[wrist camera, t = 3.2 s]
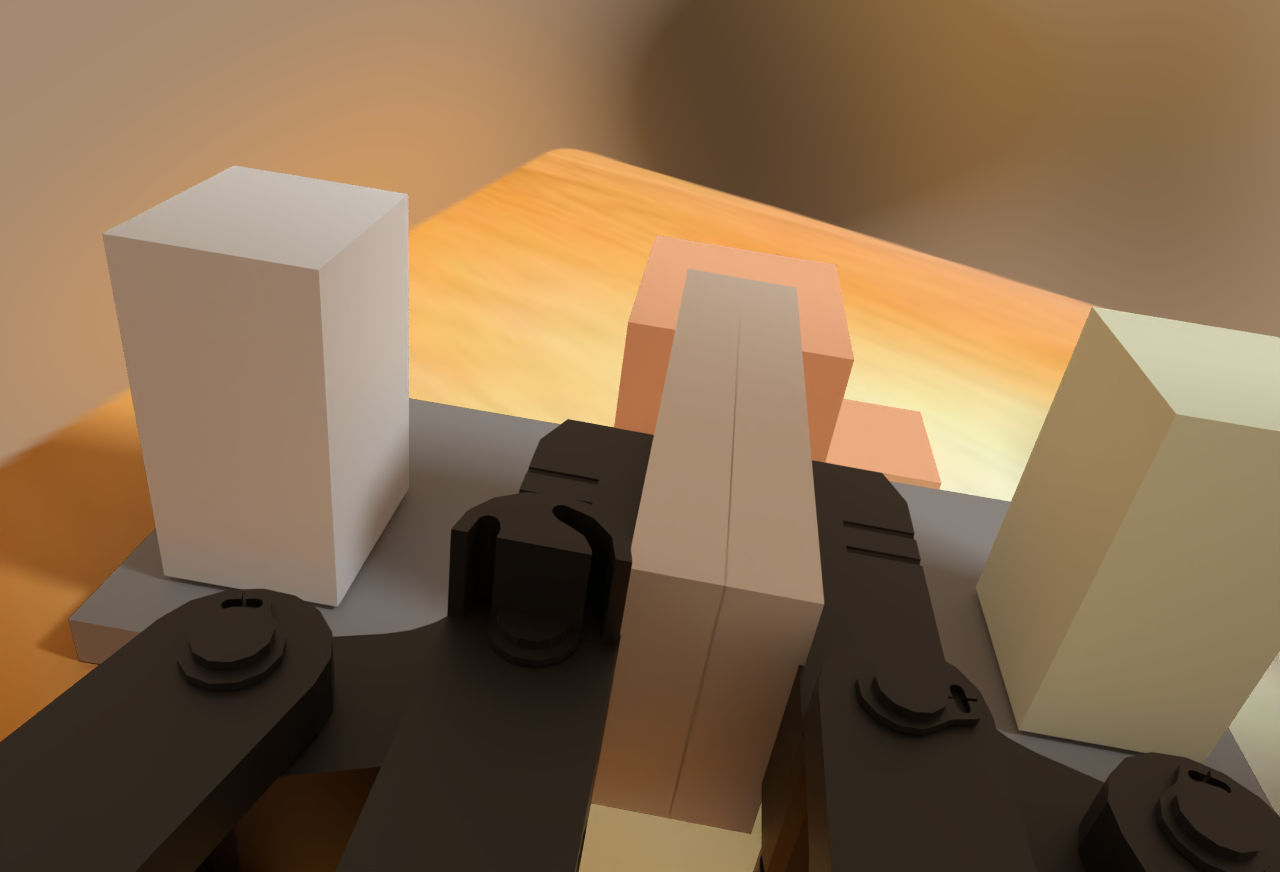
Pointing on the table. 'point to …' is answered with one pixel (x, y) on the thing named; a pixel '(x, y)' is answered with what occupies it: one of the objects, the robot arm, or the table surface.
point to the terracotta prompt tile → (884, 443)
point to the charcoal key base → (495, 466)
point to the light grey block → (268, 375)
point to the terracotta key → (813, 280)
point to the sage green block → (1144, 540)
